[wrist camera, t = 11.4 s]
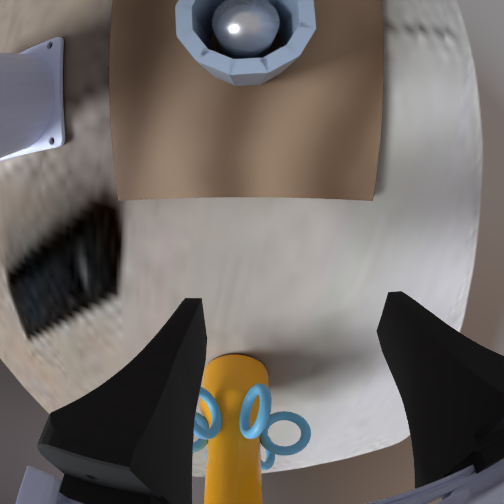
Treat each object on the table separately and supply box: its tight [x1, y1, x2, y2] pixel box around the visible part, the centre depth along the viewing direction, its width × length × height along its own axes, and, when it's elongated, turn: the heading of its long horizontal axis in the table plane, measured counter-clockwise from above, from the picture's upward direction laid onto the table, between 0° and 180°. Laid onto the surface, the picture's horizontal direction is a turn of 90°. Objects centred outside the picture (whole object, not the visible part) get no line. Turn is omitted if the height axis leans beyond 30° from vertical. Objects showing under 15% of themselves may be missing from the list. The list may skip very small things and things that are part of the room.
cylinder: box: [193, 354, 311, 504], centre depth 20 cm, size 12×10×15 cm
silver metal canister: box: [212, 0, 279, 59], centre depth 11 cm, size 3×3×5 cm
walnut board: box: [109, 0, 384, 201], centre depth 14 cm, size 16×18×1 cm
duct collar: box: [175, 0, 316, 86], centre depth 10 cm, size 5×6×6 cm
